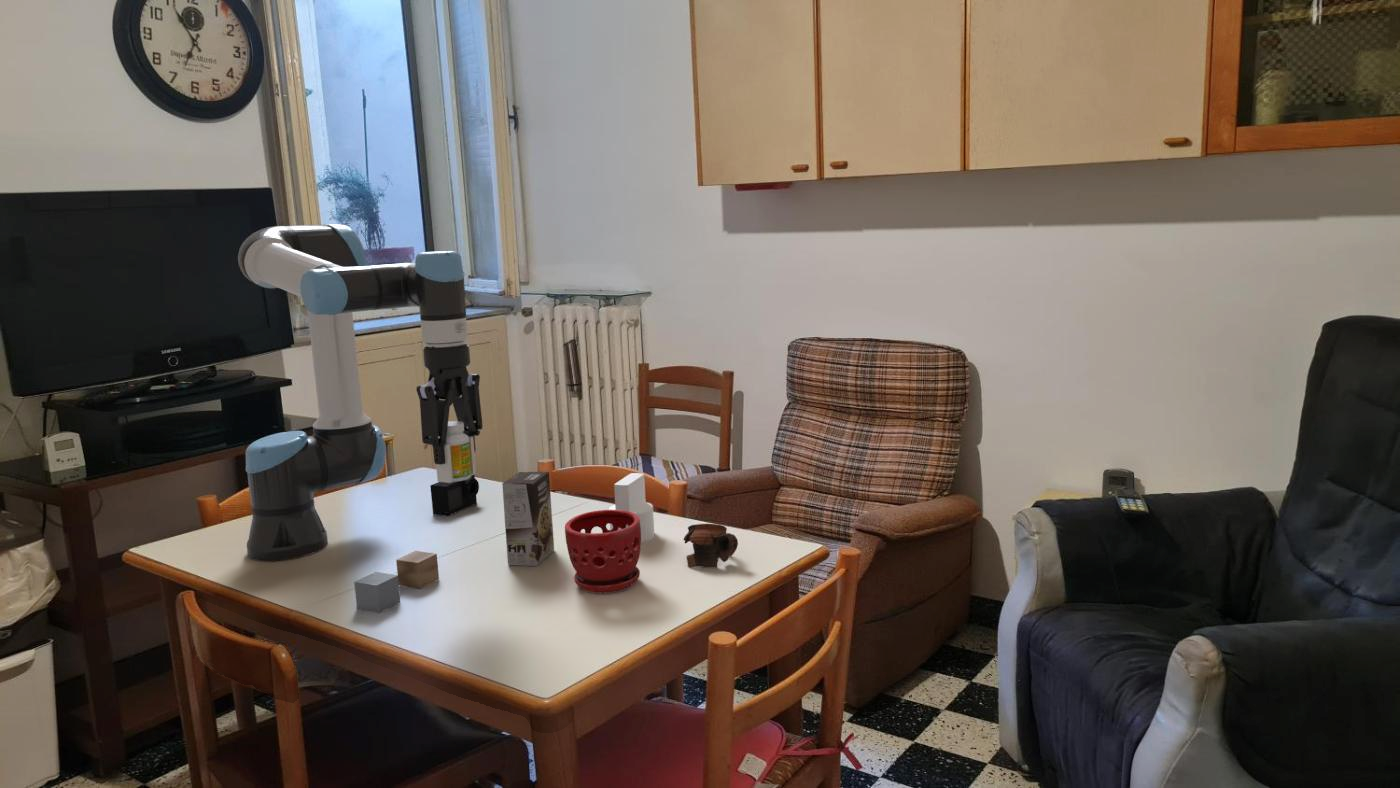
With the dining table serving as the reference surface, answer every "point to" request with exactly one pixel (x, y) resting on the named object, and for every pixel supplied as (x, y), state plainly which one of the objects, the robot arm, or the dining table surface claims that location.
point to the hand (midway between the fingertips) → (457, 476)
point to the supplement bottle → (459, 451)
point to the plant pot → (604, 550)
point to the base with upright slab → (634, 503)
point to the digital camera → (453, 496)
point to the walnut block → (417, 569)
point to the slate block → (377, 592)
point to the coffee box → (528, 518)
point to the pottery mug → (709, 544)
